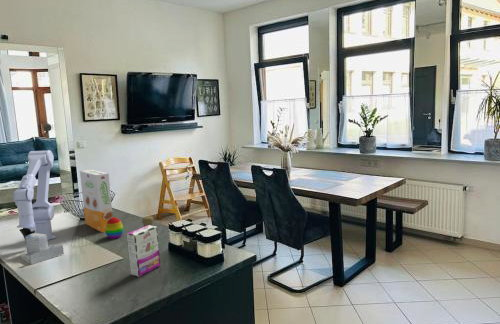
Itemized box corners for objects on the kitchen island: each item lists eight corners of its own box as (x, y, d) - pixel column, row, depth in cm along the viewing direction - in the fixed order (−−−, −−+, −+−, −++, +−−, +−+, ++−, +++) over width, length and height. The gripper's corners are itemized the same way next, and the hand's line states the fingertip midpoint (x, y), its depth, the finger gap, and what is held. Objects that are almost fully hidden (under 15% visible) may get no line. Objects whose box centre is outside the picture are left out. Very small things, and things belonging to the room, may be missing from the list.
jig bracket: (21, 258, 159) (19, 249, 158) (52, 248, 169) (51, 240, 168) (31, 264, 151) (30, 255, 151) (63, 254, 161) (62, 245, 161)
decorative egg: (126, 234, 185) (124, 214, 184) (119, 239, 177) (117, 219, 176) (111, 234, 186) (109, 215, 185) (103, 239, 178) (101, 219, 177)
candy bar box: (152, 263, 148) (148, 224, 145) (161, 266, 145) (157, 226, 143) (129, 274, 138) (125, 233, 136) (138, 277, 136) (135, 235, 133)
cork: (152, 241, 173) (150, 218, 172) (140, 240, 175) (138, 218, 173) (157, 236, 179) (156, 215, 178) (146, 236, 180) (144, 214, 179)
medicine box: (49, 252, 164) (46, 234, 163) (40, 256, 160) (38, 237, 158) (35, 251, 166) (33, 232, 165) (27, 255, 162) (24, 236, 161)
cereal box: (113, 229, 193) (108, 173, 189) (102, 232, 189) (96, 175, 185) (96, 221, 209) (91, 169, 205) (85, 223, 205) (79, 170, 201)
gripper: (10, 214, 168) (13, 242, 170) (22, 219, 159) (25, 249, 161) (27, 210, 173) (30, 238, 175) (39, 215, 164) (43, 244, 166)
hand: (29, 243), depth 168 cm, fingers closed
